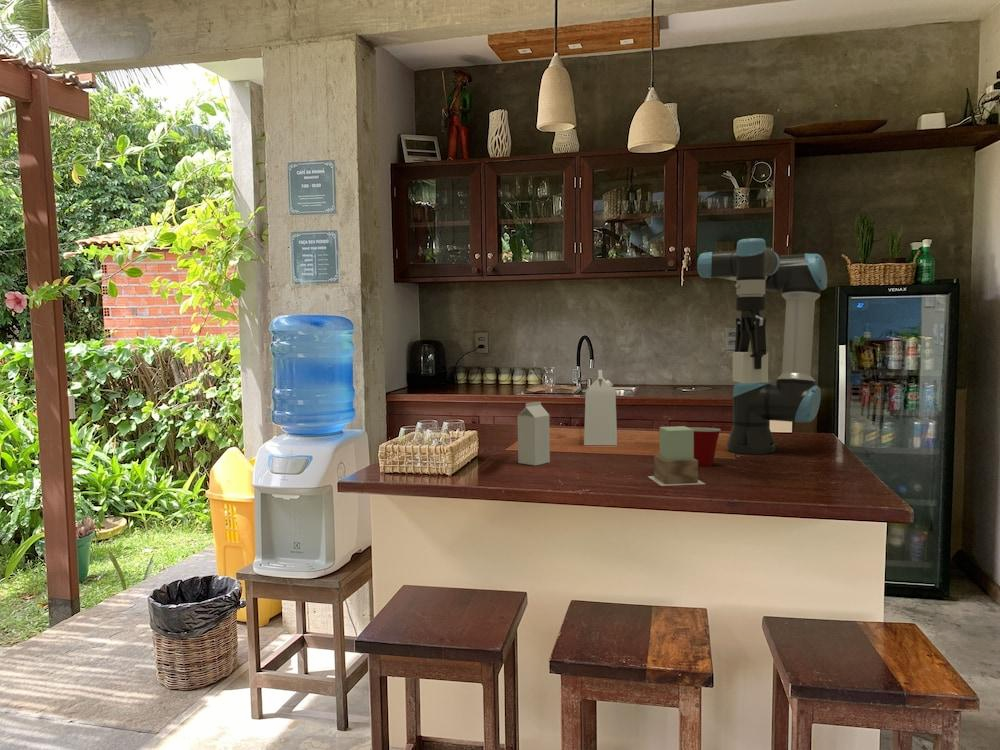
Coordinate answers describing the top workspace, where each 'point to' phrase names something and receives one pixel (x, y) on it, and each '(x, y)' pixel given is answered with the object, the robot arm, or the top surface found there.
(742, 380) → the cream brick
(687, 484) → the plate
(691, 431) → the sage brick
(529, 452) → the milk carton
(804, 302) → the robot arm
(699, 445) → the plastic cup
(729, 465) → the top surface
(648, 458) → the top surface
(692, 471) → the walnut base brick
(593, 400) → the milk
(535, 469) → the top surface
